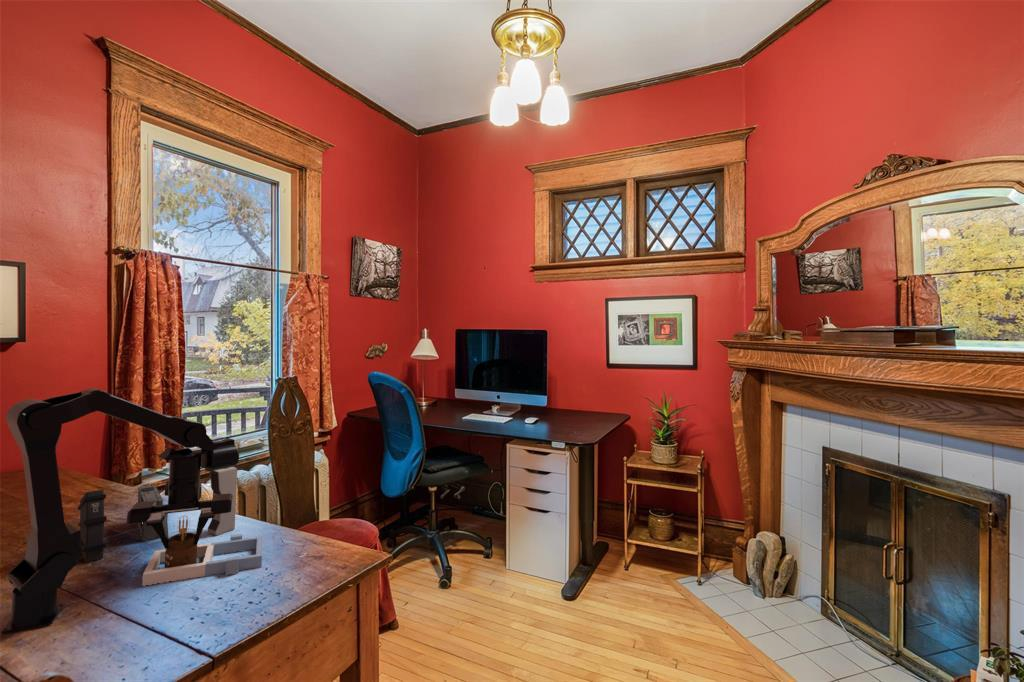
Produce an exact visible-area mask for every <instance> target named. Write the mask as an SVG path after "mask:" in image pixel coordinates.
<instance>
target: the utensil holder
mask: <svg viewBox="0 0 1024 682" xmlns="http://www.w3.org/2000/svg"><path fill="white" fill-rule="evenodd" d="M182 517H183V518H182ZM185 517H186V519H185ZM181 518H182V520H181ZM177 523H178V529H176V531H177V533H175V534H174V535H172V536H169V539H168V548H167V549H166V551H165V562H164V569H165V568H171V567H178V566H184V565H191V564H197V563H198V558H197V550H198V547H197V545H198V544H197V545H195V536H196V533H194V532H188V530H189V529H190V528H189V527H190V524H191V521H190V517H189V516H187V515H182V516H181V517H179V518H178V520H177ZM181 525H182V526H181Z"/></svg>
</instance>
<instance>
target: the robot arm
mask: <svg viewBox="0 0 1024 682" xmlns="http://www.w3.org/2000/svg"><path fill="white" fill-rule="evenodd" d="M95 412H99V413H102V414H105V415H107V416H111V417H113V418H116V419H120V420H122V421H125V422H128V423H131V424H134V425H137V426H138V427H139V426H140V427H141V428H146V429H147V430H150V431H152V432H154V433H155V434H157V436H159V437H162V438H163V439H165V440H167V441H168V442H170V443H172V444H174V445H177V446H181V447H185V448H178V449H175V448H174V447H171V446H167V447H166V449H165V450H163V452H161V453H160V454H159V455H157V457H158V459H161V460H163V461H166V462H167V461H169V471H168V481H165V486H164V487H165V488H164V496H167V504H163V505H157V506H156V501H146V502H138V501H137V502H135V503H134V504H133V505H132V506H131V508H130V509H129V510H128V511H127V515H126V524H129V525H133V524H137V523H142V522H146V521H147V522H146V525H147V526H149V525H151V526H152V527H153V528H154V530H155V531H156V532H157V534H158V535H159V537H160V538H159V539H160V541H161V543H162V545H163V547H164V550H165V549H167V548H168V539H169V538H170V536H169V526H168V525H169V524H168V518H169V516H168V515H169V514H175V513H185V512H193V511H200V513H199V516H198V520H197V526H196V530H195V534H196V536H195V545H198V543H199V541H200V538H201V535H202V533H203V530H204V528H205V527H206V525H207V523H208V522H209V520H210V519H212V518H214V517H215V514H222V513H229V512H231V510H232V506H233V495H232V494H231V493H229V494H219V495H214V496H213V495H212V499H209V500H207V499H206V500H201V498H202V483H201V470H202V469H204V470H205V471H206V472H210V471H214V470H219V469H224V468H229V467H236V466H237V465H238V463H239V460H240V453H239V451H238V448H237V446H236V445H235V439H233V438H230V437H229V439H226V438H224V439H222V440H216V441H213V440H212V439H211V438H210V436H209V435H208V433H207V428H206V426H205V424H204V423H202V422H200V421H196V420H192V419H189V418H185V417H184V418H183V417H179V416H175V415H168V414H163V413H162V412H161V413H160V412H158V411H155V410H153V409H150V408H147V407H144V406H142V405H139V404H136V403H134V402H132V401H129V400H126V399H123V398H121V397H118V396H115V395H113V394H110V393H109V392H108V391H106V390H102V389H99V388H94V387H93V388H91V387H90V388H86V389H84V390H81V391H77V392H73V393H72V392H71V393H68V394H63V395H57V396H53V397H48V398H45V399H42V400H40V399H35V398H32V399H31V398H29V399H28V398H27V399H23V400H21V401H19V402H16V403H15V404H13V405H12V406H11V407H10V408H9V409H7V412H6V416H5V417H6V422H7V426H8V427H9V429H10V433H11V435H12V437H13V438H14V441H15V442H16V445H17V446H18V448H19V450H20V452H21V454H22V462H23V469H24V470H23V471H24V477H25V478H24V479H25V485H26V493H27V494H26V495H27V501H28V509H29V517H30V518H29V519H30V523H31V528H30V531H29V533H28V536H27V540H26V544H25V554H24V557H23V559H21V560H20V561H19V562H18V563H17V564H16V565H15V566H14V567H13V568H11V569H10V570H9V571H8V572H7V573H6V576H5V577H6V578H7V580H8V581H9V583H10V584H11V585H12V586H13V587H14V588H13V590H12V596H11V614H10V615H11V617H10V620H9V621H8V622H7V623H6V624H5V626H4V627H3V628H2V629H1V630H0V634H3V635H4V634H9V633H14V632H21V631H25V630H32V629H36V628H42V627H48V626H50V625H52V624H53V623H54V622H55V621H56V619H57V617H59V615H60V614H61V612H62V611H63V610H64V608H65V606H66V604H65V603H59V604H58V589H60V588H62V586H63V584H64V582H65V580H66V578H67V576H68V573H69V572H70V571H71V570H72V569H73V568H74V567H75V566H76V565H78V563H79V559H80V553H82V552H83V551H84V550H83V549H82V548H81V545H80V538H81V532H80V529H78V528H77V527H75V526H73V525H72V524H71V523H67V524H66V522H65V517H64V508H63V500H62V491H61V484H60V483H61V482H60V476H59V469H58V468H59V467H58V459H57V451H56V450H57V446H58V443H59V441H60V437H61V434H62V427H63V426H62V425H63V424H66V423H67V424H68V423H70V422H73V421H76V420H78V419H80V418H82V417H85V416H87V415H90V414H91V413H95ZM193 448H199V449H195V450H192V449H193Z"/></svg>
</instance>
